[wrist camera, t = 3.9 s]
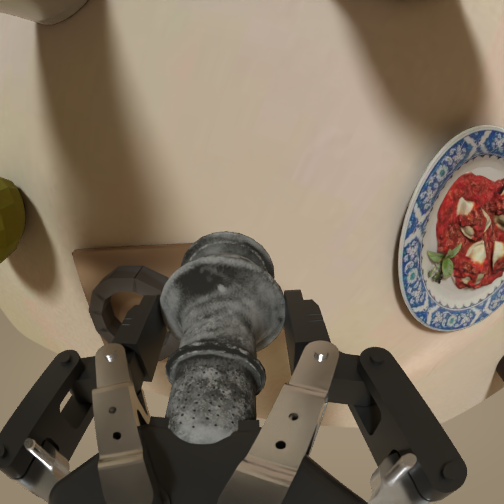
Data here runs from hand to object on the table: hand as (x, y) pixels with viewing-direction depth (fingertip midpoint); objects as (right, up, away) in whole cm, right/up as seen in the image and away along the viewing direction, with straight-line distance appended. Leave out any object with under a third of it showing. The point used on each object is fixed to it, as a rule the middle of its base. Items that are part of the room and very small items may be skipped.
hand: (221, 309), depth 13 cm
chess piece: (0, +1, +3) cm, 3 cm away
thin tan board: (-10, -3, +17) cm, 20 cm away
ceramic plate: (+28, +5, +13) cm, 32 cm away
